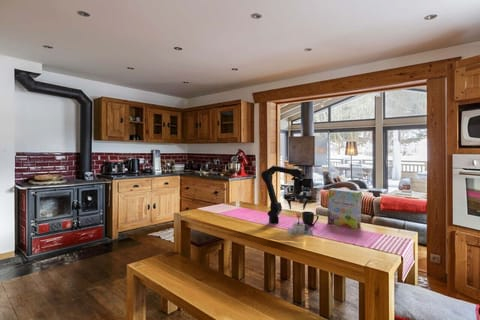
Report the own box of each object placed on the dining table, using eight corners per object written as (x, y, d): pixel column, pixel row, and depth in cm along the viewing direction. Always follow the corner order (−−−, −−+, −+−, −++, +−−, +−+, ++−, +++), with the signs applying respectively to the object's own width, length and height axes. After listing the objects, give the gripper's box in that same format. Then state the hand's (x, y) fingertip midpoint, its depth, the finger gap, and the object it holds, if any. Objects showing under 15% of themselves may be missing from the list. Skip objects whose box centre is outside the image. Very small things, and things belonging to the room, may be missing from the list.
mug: (314, 229, 184) (314, 215, 184) (299, 225, 193) (299, 212, 193) (320, 227, 190) (321, 213, 190) (305, 223, 199) (306, 210, 198)
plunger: (294, 226, 174) (294, 214, 173) (294, 224, 179) (294, 212, 178) (302, 227, 172) (302, 214, 172) (302, 225, 177) (302, 212, 177)
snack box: (326, 223, 199) (327, 189, 199) (331, 221, 206) (332, 188, 205) (357, 229, 186) (358, 192, 185) (361, 226, 192) (362, 190, 192)
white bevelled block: (292, 232, 173) (292, 224, 173) (292, 229, 180) (292, 221, 180) (308, 233, 171) (308, 225, 170) (307, 230, 178) (307, 222, 178)
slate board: (286, 234, 171) (287, 233, 171) (287, 229, 184) (287, 227, 184) (313, 236, 167) (313, 235, 167) (312, 230, 180) (312, 229, 180)
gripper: (286, 188, 177) (285, 211, 178) (314, 189, 178) (313, 212, 178) (283, 185, 189) (282, 208, 189) (310, 186, 189) (309, 208, 189)
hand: (296, 209), depth 186 cm, fingers open, 9 cm apart
